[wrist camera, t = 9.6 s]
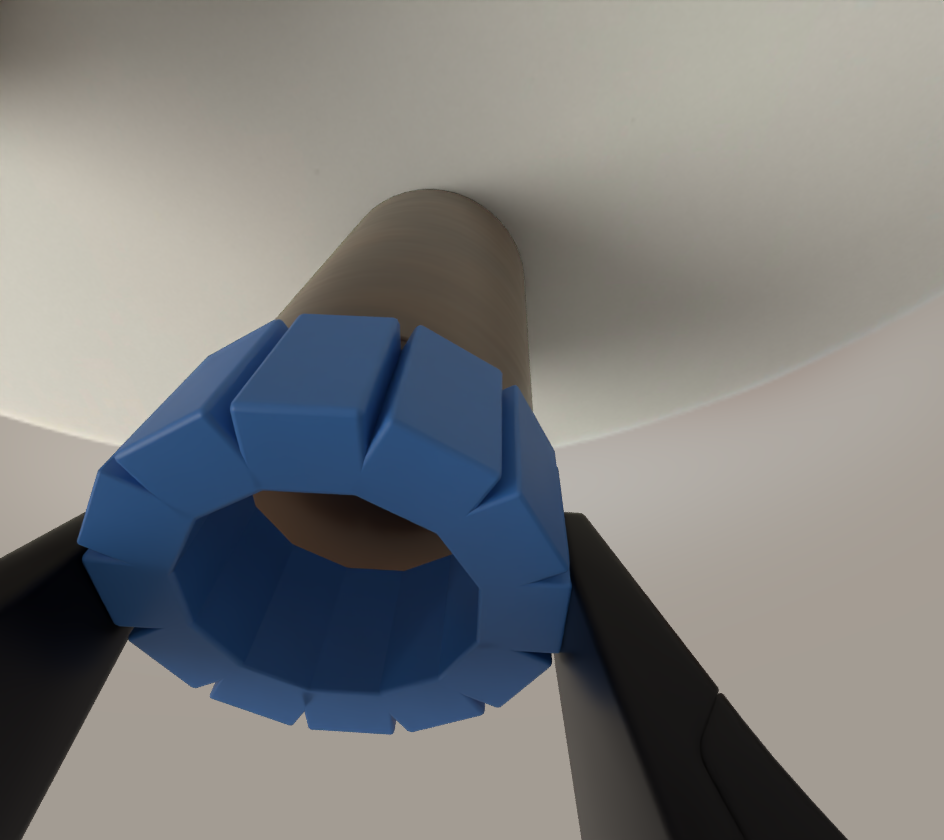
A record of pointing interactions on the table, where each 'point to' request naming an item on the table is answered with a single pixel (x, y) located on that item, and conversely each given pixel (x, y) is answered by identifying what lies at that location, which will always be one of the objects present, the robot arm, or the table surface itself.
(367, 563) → the pedestal
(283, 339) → the tape roll
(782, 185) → the table surface
